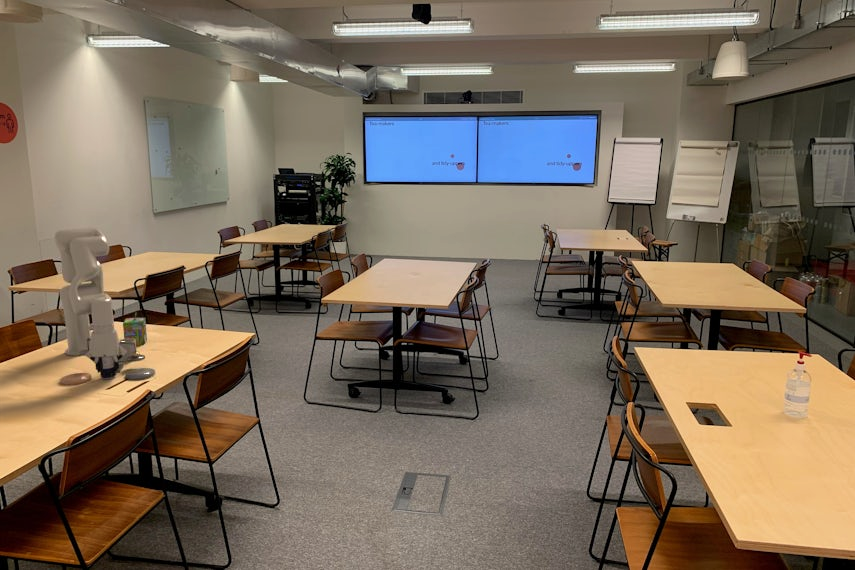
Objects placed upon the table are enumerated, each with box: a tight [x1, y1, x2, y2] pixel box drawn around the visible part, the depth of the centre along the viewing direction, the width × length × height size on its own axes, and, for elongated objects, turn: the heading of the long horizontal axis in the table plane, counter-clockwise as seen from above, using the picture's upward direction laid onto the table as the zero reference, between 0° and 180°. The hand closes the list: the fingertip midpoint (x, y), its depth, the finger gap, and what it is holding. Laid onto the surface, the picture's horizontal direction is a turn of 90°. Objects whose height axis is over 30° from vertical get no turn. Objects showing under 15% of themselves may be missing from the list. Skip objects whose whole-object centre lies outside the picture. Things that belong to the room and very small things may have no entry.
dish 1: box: [59, 372, 93, 386], centre depth 249 cm, size 11×11×1 cm
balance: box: [78, 338, 146, 374], centre depth 260 cm, size 8×25×15 cm, turn 105°
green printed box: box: [122, 312, 148, 346], centre depth 297 cm, size 9×9×15 cm
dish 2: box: [125, 367, 156, 381], centre depth 255 cm, size 11×11×1 cm
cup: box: [118, 338, 138, 363], centre depth 273 cm, size 7×10×9 cm
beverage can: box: [99, 355, 117, 380], centre depth 251 cm, size 6×6×12 cm
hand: (108, 370), depth 251 cm, fingers closed on beverage can, 5 cm apart
